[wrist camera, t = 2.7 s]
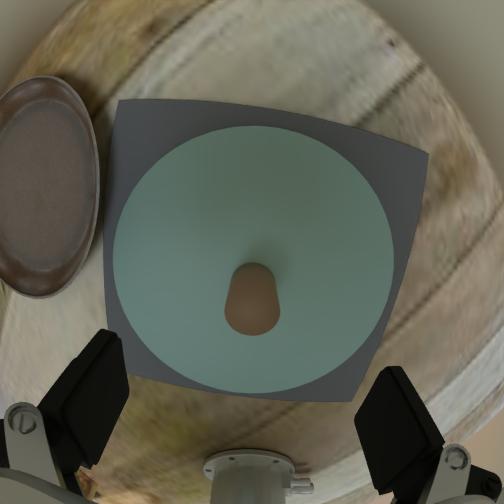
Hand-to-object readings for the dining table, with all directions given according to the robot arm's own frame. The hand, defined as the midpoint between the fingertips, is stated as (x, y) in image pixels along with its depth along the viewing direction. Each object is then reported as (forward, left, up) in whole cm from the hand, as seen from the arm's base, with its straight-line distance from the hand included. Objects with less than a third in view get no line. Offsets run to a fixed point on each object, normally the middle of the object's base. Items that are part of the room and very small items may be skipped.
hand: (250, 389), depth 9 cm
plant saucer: (+22, -4, -13) cm, 26 cm away
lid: (0, +1, -12) cm, 12 cm away
